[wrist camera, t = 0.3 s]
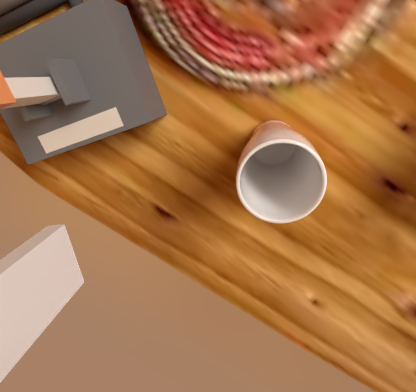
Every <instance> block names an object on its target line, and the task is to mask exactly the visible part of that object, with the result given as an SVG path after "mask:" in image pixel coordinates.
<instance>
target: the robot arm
mask: <svg viewBox="0 0 416 392" xmlns="http://www.w3.org/2000/svg"><path fill="white" fill-rule="evenodd" d="M83 283H84V279H83V277H82V274H81V271H80V268H79V265H78V262H77V259H76V256H75V254H74V251H73V248H72V245H71V243H70V239H69V236H68V233H67V231H66V228H65V225H64V224H63V225H50V226H47V227H45V228H44V229H42V230H41V231H40V232H38V233H37V234H36V235H34V236H33V237H31V238H30V239H29V240H27V241H26V242H25V243H23V244H22V245H21V246H19V247H18V248H16V249H15V250H14V251H12V252H11V253H9V254H8V255H7V256H5V257H4V258H2V259H1V260H0V382H1V381H2V380H3V379H4V378H5V376H6V375H7V374H8V373H9V372H10V370H11V369H12V368H13V367H14V366H15V364H16V363H17V362H18V361H19V360H20V358H21V357H22V356H23V355H24V354H25V352H26V351H27V350H28V349H29V347H30V346H31V345H32V344H33V343H34V342H35V340H36V339H37V338H38V337H39V336H40V334H41V333H42V332H43V331H44V329H45V328H46V327H47V326H48V325H49V324H50V322H51V321H52V320H53V319H54V318H55V316H56V315H57V314H58V313H59V311H60V310H61V309H62V308H63V307H64V305H65V304H66V303H67V302H68V301H69V300H70V298H71V297H72V296H73V295H74V294H75V292H76V291H77V290H78V289H79V288H80V286H81V285H82V284H83Z"/></svg>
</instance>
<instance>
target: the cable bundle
mask: <svg viewBox="0 0 416 392" xmlns="http://www.w3.org/2000/svg"><path fill="white" fill-rule="evenodd" d="M29 1H31V0H0V16H2V15H4V14H6V13H8V12H10V11H12V10H14V9H16V8H17V7H19V6H21V5H23V4H25V3H27V2H29ZM67 1H69V3H70V6H71V8H73V7H75V6H77V5H79V4H81V3H83V1H82V0H33V1H31V2H29V3H27V4H25V5H23V6H21V7H19V8H17V9H16V10H14V11H12V12H10V13H8V14H6V15H4V16H2V17H0V35H1V34H3V33H5V32H7V31H9V30H11V29H13V28H15V27H17V26H19V25H21V24H23V23H25V22H27V21H29V20H31V19H33V18H35V17H37V16H39V15H41V14H43V13H45V12H47V11H49V10H51V9H53V8H55V7H57V6H59V5H61V4H63V3H65V2H67Z"/></svg>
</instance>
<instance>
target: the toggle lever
mask: <svg viewBox="0 0 416 392" xmlns="http://www.w3.org/2000/svg"><path fill="white" fill-rule="evenodd" d="M60 98H62V97H61V95H60V92H59V90H58V88H57V86H56V84H55V82H54V80H53V78H52V77H13V78H4V77H3V75H2V73H1V71H0V109H4V108H12V107H19V106H26V105H33V104H41V105H46V104H48V103H51V102H53V101H56V100H58V99H60Z"/></svg>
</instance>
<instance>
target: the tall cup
mask: <svg viewBox="0 0 416 392" xmlns="http://www.w3.org/2000/svg"><path fill="white" fill-rule="evenodd" d="M326 186H327V174H326V169H325V166H324V164H323V162H322V160H321V158H320V156H319V154H318V152H317V151H316V149H315V148H314V146H313V145H312V144H311V143H310V142H309V141H308V140H307V139H306V138H305V137H304V136H302V135H301V134H300V133H298V132H296V131H295V130H293V129H292V128H291V127H290V126H289V125H288V124H286V123H284V122H282V121H278V120H271V121H267V122H264V123H262V124H260V125H259V126H258V127H257V128H256V129H255V130H254V132H253V133H252V135H251V138H250V140H249V141H248V143H247V144H246V146H245V147H244V149H243V151H242V153H241V155H240V158H239V162H238V166H237V172H236V189H237V194H238V196H239V199H240V201H241V203H242V204H243V206H244V207H245V208H246V209H247V210H248V211H249V212H250V213H251V214H252V215H254V216H255V217H257V218H259V219H261V220H264V221H267V222H271V223H289V222H293V221H297V220H299V219H301V218H303V217H305V216H307V215H308V214H310V213H311V212H312V211H313V210H314V209H315V208H316V207H317V206H318V205H319V203H320V202H321V200H322V198H323V196H324V194H325V191H326Z"/></svg>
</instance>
